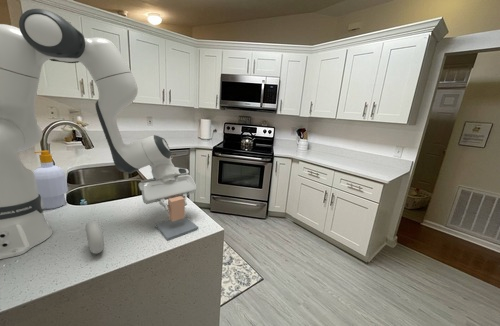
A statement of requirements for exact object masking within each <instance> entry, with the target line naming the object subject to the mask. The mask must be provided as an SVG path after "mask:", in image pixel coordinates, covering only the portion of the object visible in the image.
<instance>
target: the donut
mask: <svg viewBox="0 0 500 326" xmlns="http://www.w3.org/2000/svg"><path fill="white" fill-rule="evenodd" d="M85 234H86V239H87V244H88V248H89V251H90V252H91V253H92V254H94V255H97V254H100V253H102V251H103V250H104V248H105V239H104V234H103V230H102V227H101V224H100V222H99V221H97V220H91V221H89V222H88V223H86V225H85Z"/></svg>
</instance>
